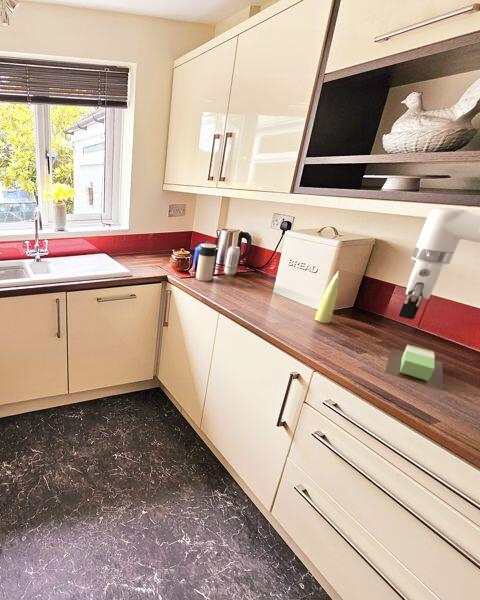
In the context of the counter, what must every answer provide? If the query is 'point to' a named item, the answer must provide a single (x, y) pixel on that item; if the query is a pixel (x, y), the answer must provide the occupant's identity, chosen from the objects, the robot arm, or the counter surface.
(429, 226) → the robot arm
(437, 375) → the stand
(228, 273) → the white bottle
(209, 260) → the travel mug
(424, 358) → the block
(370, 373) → the counter surface
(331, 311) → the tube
